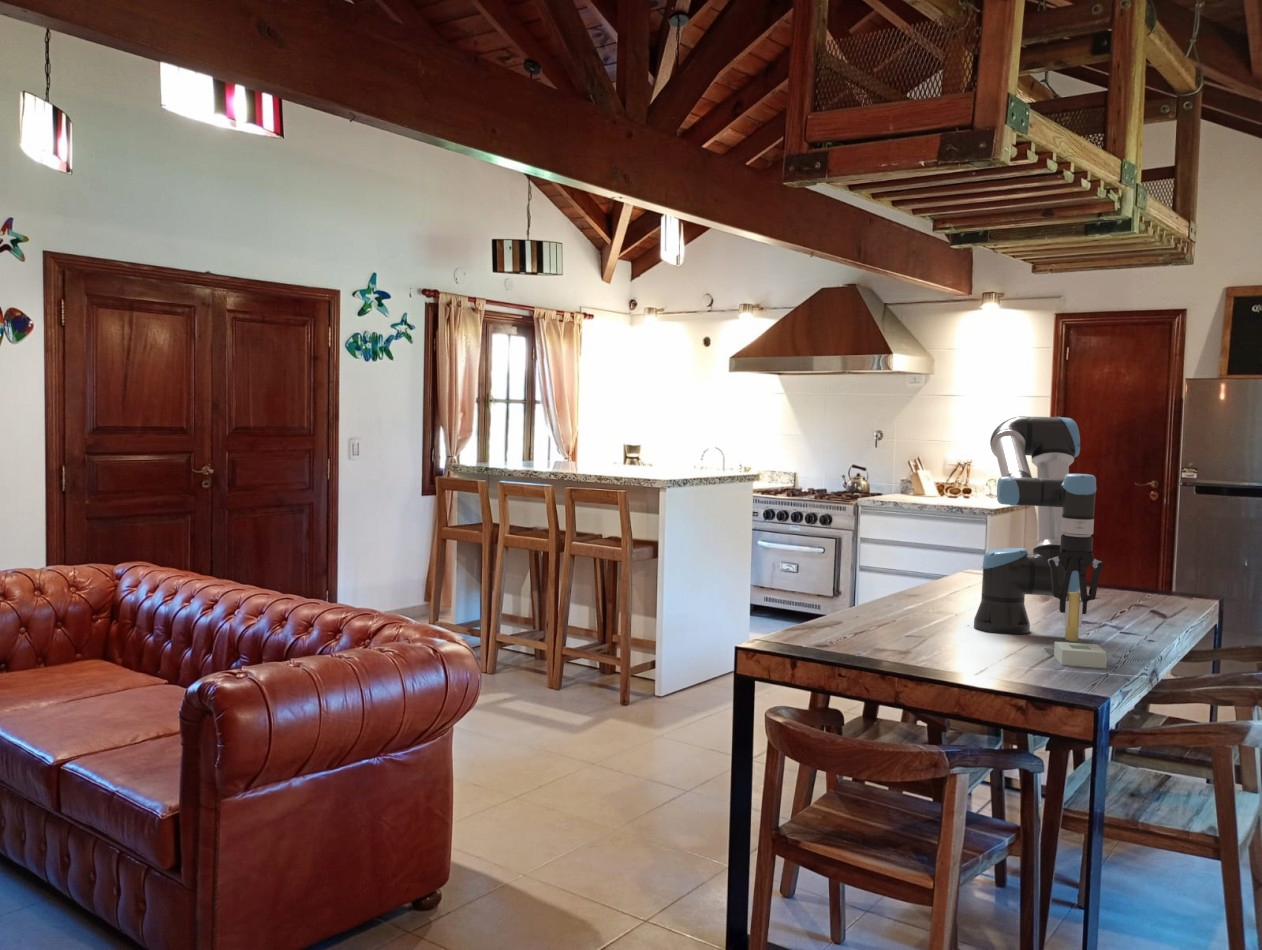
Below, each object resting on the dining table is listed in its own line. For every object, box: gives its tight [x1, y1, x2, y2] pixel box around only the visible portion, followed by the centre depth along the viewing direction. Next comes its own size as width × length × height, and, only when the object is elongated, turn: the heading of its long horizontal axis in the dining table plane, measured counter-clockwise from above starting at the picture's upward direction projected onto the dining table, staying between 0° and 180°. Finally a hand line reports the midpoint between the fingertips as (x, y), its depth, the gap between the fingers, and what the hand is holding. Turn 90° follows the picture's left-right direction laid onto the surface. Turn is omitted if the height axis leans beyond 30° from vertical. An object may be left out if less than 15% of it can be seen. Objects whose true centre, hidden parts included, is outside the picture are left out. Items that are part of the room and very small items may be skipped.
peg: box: [1064, 592, 1081, 642], centre depth 257 cm, size 3×3×12 cm
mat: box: [1043, 647, 1054, 656], centre depth 257 cm, size 12×8×1 cm, turn 77°
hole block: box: [1053, 641, 1108, 669], centre depth 248 cm, size 10×10×4 cm
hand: (1072, 625), depth 258 cm, fingers closed on peg, 2 cm apart
